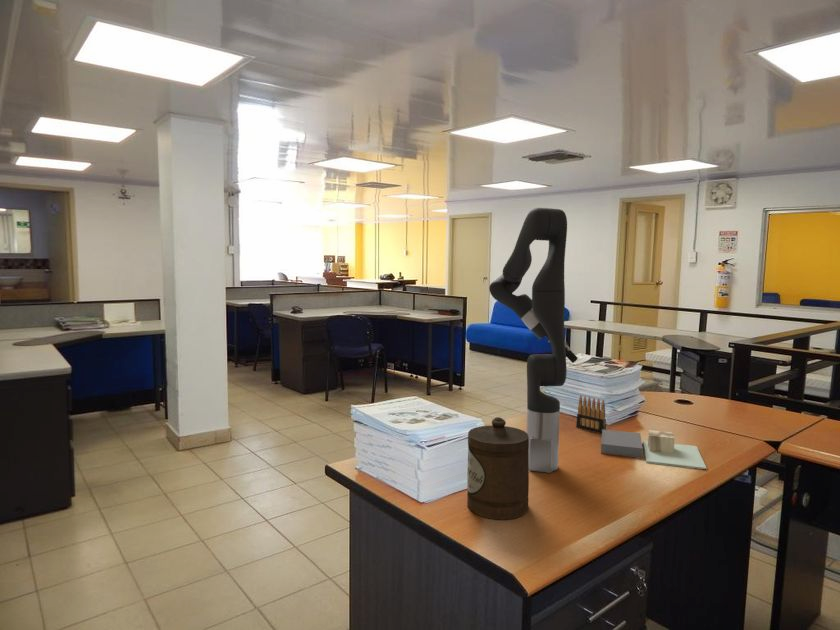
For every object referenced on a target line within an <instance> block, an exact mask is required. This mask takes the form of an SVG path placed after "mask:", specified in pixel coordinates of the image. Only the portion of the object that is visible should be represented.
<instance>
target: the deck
mask: <svg viewBox="0 0 840 630" xmlns="http://www.w3.org/2000/svg"><path fill="white" fill-rule="evenodd" d="M643 448H644V447H643V441H642V436H641V432H634V431H633V432H631V431H621V430H613V429H606V430H604V429H602V434H601V443H600V453H601V454H606V455H613V456H621V455H622V457H632V458H640V459H643V450H644V449H643Z"/></svg>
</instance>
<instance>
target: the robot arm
mask: <svg viewBox="0 0 840 630" xmlns="http://www.w3.org/2000/svg"><path fill="white" fill-rule="evenodd" d="M567 233H568V218H567V215H566V213H565V211H564V210H563V209H559V208H548V207H534V208H532V209H531V210H530V211H529V212H527V215H526V217H525V219H524V221H523V224H522V226H521V229H520V231H519V234H518V236H517V240H516V242H515V245H514V248H513V250H512V253H511V255H510V256H509V257H508V259H507V261H506V263H505V264H504V266H503V269H502V274H501V275H500V276H499V277H497V278H496V279H495V280H492V282H491V283H490V284H489V293H490V295H491V296H492V298H493V299H494V300H495V301H497V302H498V303H500V304H502V305H503V306H505V307H506V308H508V309H510V310H512V312H514V314H515V315H517V316H518V318H519V319H520V320H521V321H522V323H524V324H523V325H525V326H526V327H527V329H529V330H530V331H531V333H532V334H534V335H535V337H536V338H537V339H539V340H542V339H543V338H544V337H545V338H546V339H547V342H548V343H549V344H550V346H551V353H541V354H540V353H533V354H530V355H529V356H528V358H527V362H526V387H527V388H526V389H527V390H526V395H527V396H526V399H527V400H526V401H527V402H526V403H527V406H526V410H527V412H526V433H527V434H528V437H529V449H528V464H529V471H532V472H540V473H548V474H551V473H553V472H554V471H557V470H558V469H559V447H560V446H559V445H560V443H559V441H560V415H561V413H560V409H561V403H560V400H559V399H557V398H556V397H553V396H551V395H549V394H546V393H544V392H542V390H541V387H562V386H564V385H565V383H566V379H567V373H568V372H567V371H568V370H567V359H568V360H569V361H570V363H572V364H573V363H575V362H576V361H577V360H578V358H579V357H578V356H577V355H576V354H575V353H574V352H573V351H572V350H571V348H570V345H569V344H568V342H567V341H566V340H565V310H566V309H565V308H566V305H565V304H566V299H565V298H566V297H565V296H566V294H565V293H566V291H565V290H566V288H565V287H566V285H565V259H566V246H567ZM534 241H548V250H547V256H546V259H545V261H544V263H543V265H542V267H541V269H540V270H539V272H538V273H537V275H536V277H535V279H534V281H533V283H532V287H531V297H530V296H529V295H528V294H526V293H523V294H520V295H516V294H514V292H515V291H516V290H517V289H519V287H520V286H521V283H522V280H523V278H524V276H525V275H526V274H527V272H528V271H529V269H530V267H531V265H532V260H533V258H532V253H531V252H532V251H531V248H530V247H531V244H533V242H534Z"/></svg>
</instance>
